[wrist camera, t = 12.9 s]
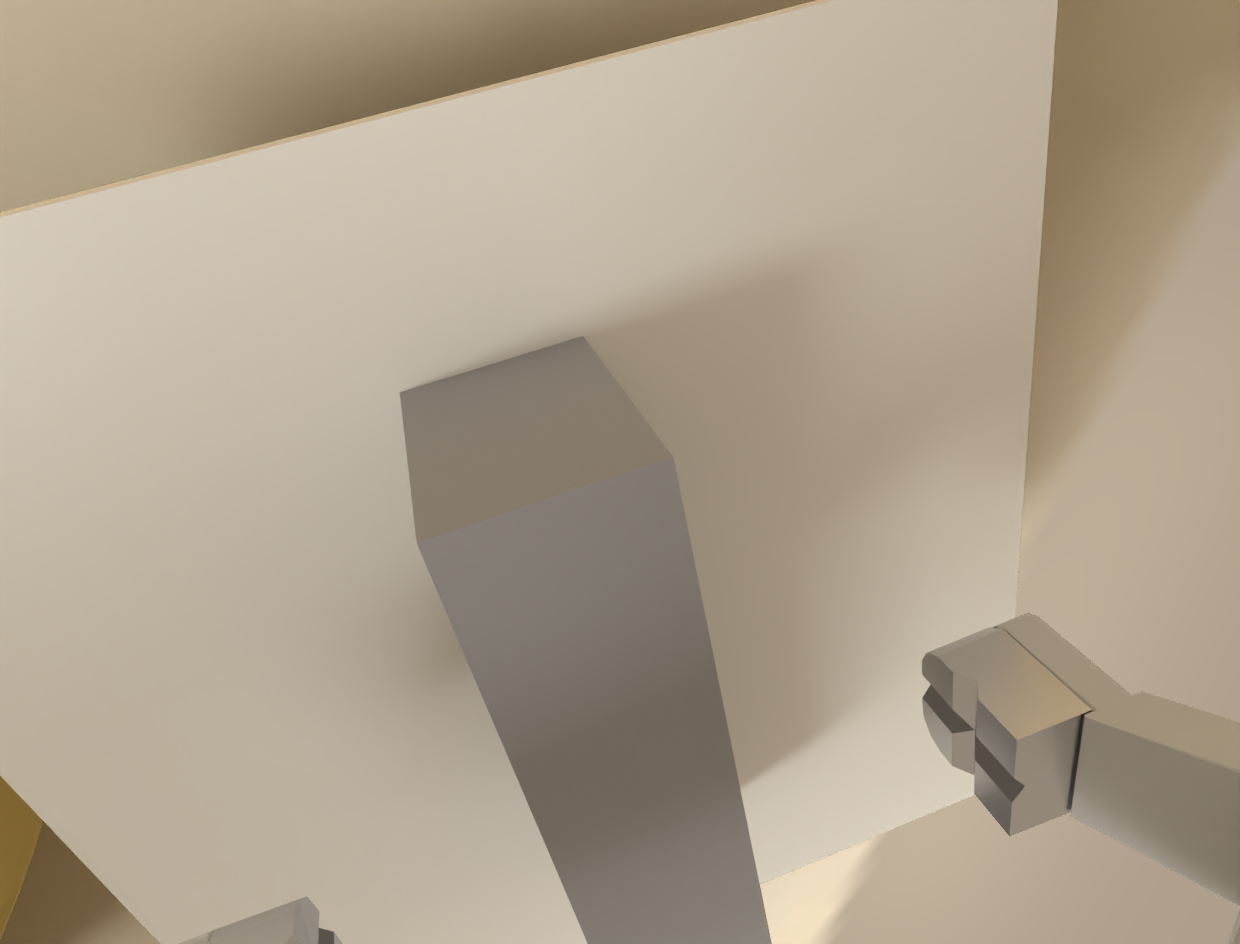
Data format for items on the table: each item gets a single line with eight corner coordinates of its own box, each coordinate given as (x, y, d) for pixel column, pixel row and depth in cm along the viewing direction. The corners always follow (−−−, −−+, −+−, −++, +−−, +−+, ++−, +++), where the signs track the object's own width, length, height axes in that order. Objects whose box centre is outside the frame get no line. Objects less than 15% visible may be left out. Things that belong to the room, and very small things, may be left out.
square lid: (292, 1048, 16) (274, 1322, 13) (-376, 310, 8) (-938, 519, 5) (986, 761, 18) (1131, 929, 15) (1026, -55, 10) (1374, -102, 7)
